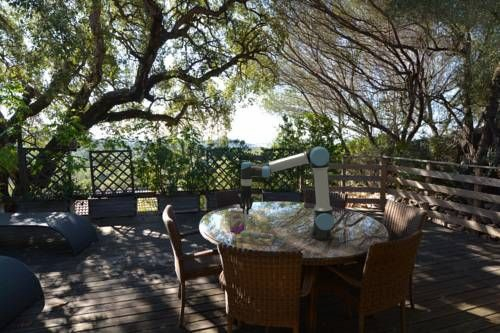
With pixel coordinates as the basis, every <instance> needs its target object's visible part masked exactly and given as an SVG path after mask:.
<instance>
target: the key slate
mask: <svg viewBox="0 0 500 333" xmlns="http://www.w3.org/2000/svg"><path fill="white" fill-rule="evenodd" d="M251 232H252V233H251V237H256V238H259V237H260V236H261V233H262V232H261V231H254V230H252V231H251Z"/></svg>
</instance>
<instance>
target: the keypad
mask: <svg viewBox="0 0 500 333" xmlns="http://www.w3.org/2000/svg"><path fill="white" fill-rule="evenodd" d="M252 232H253V231H251V233H252ZM262 235H271V237H270V239H266V238H261V236H262ZM261 236H260V237H259V238H256V237H251V235H250V236H249V237H246V236H241V233H239V234H238V235H237V236H236V237H235V243H242V244H243V243H245V244H251V245H252V244H253V245H262V246H272V244H273V243H274V241H275V240H276V234H275V233H265V232H261Z"/></svg>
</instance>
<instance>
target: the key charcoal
mask: <svg viewBox="0 0 500 333" xmlns="http://www.w3.org/2000/svg"><path fill="white" fill-rule="evenodd" d="M270 237H271V235H262V236H261V238H266V239H270Z"/></svg>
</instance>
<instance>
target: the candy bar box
mask: <svg viewBox="0 0 500 333" xmlns="http://www.w3.org/2000/svg"><path fill="white" fill-rule="evenodd" d="M229 211H230V212H229V213H230V214H229V215H230V223H229V224H230V226H229V227H230V228H229V231H230V232H233V233H239V234H240V233H241V232H242V231H243V230H245V231H247V219H246V220H245V219H244V214H243V209H239V208H232V209H230V210H229Z"/></svg>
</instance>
